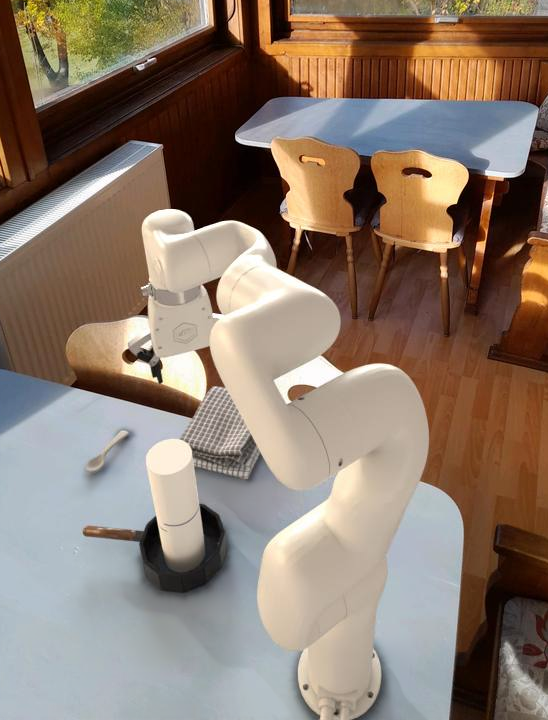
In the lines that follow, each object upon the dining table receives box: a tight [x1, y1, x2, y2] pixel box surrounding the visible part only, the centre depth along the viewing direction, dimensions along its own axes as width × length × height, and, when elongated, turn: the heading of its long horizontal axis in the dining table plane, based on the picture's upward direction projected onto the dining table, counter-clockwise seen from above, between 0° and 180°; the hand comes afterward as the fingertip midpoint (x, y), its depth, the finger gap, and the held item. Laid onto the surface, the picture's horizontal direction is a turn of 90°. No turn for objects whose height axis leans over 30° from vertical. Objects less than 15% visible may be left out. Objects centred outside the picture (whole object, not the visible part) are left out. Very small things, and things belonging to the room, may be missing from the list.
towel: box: [179, 385, 261, 480], centre depth 137 cm, size 15×18×8 cm
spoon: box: [85, 429, 130, 474], centre depth 136 cm, size 3×12×2 cm, turn 159°
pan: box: [82, 503, 228, 594], centre depth 117 cm, size 14×25×4 cm, turn 84°
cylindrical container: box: [145, 438, 206, 573], centre depth 111 cm, size 7×7×25 cm
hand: (187, 370), depth 112 cm, fingers open, 9 cm apart
